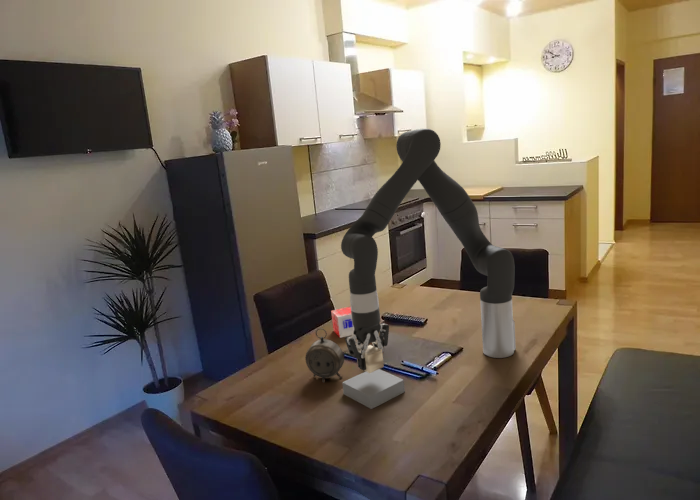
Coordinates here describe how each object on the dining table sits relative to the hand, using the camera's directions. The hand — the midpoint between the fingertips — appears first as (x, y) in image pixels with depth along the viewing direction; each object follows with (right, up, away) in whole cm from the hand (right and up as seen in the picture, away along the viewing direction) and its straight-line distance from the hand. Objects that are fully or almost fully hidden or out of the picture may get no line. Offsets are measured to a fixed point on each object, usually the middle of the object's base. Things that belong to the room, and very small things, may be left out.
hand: (370, 365), depth 142 cm
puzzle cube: (-7, +1, +48) cm, 49 cm away
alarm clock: (-13, -7, +13) cm, 19 cm away
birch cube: (0, 0, 0) cm, 0 cm away
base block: (+1, -8, +2) cm, 9 cm away
